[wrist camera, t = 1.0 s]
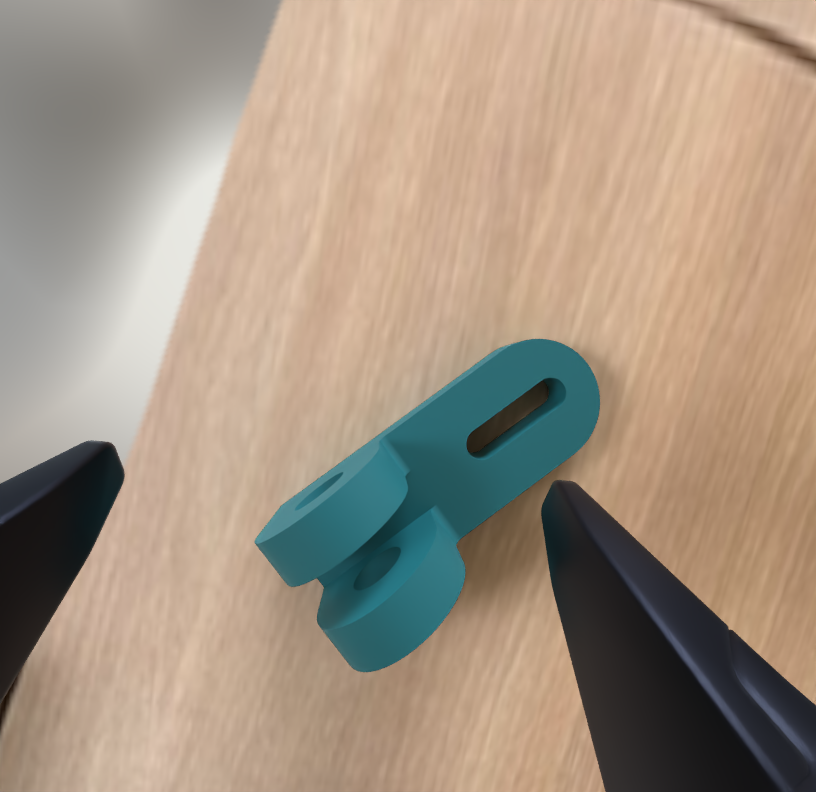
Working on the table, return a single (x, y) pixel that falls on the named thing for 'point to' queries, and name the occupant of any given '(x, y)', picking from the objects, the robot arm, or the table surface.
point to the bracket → (426, 500)
